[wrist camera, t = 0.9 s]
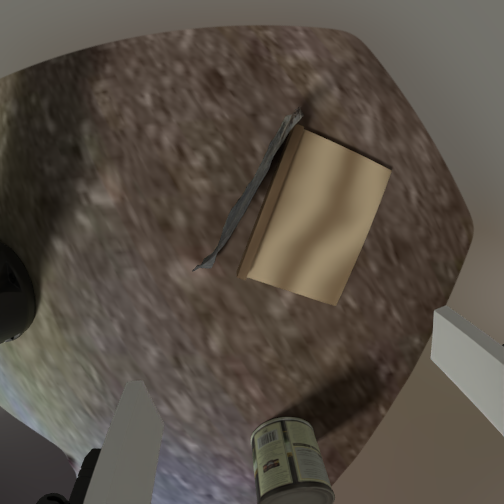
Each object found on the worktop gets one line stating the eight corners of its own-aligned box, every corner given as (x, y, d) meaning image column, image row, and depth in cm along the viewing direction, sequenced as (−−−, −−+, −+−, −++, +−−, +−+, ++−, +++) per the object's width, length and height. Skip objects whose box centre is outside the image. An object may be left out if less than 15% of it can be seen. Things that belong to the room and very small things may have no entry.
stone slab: (211, 264, 38) (203, 295, 28) (197, 257, 38) (185, 286, 28) (290, 126, 34) (309, 110, 25) (276, 118, 34) (290, 99, 24)
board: (236, 272, 38) (236, 277, 36) (292, 125, 34) (295, 123, 32) (334, 304, 40) (339, 310, 38) (389, 170, 36) (397, 171, 34)
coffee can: (293, 461, 47) (307, 525, 34) (239, 448, 46) (243, 518, 32) (326, 424, 45) (350, 490, 32) (270, 408, 44) (282, 482, 30)
